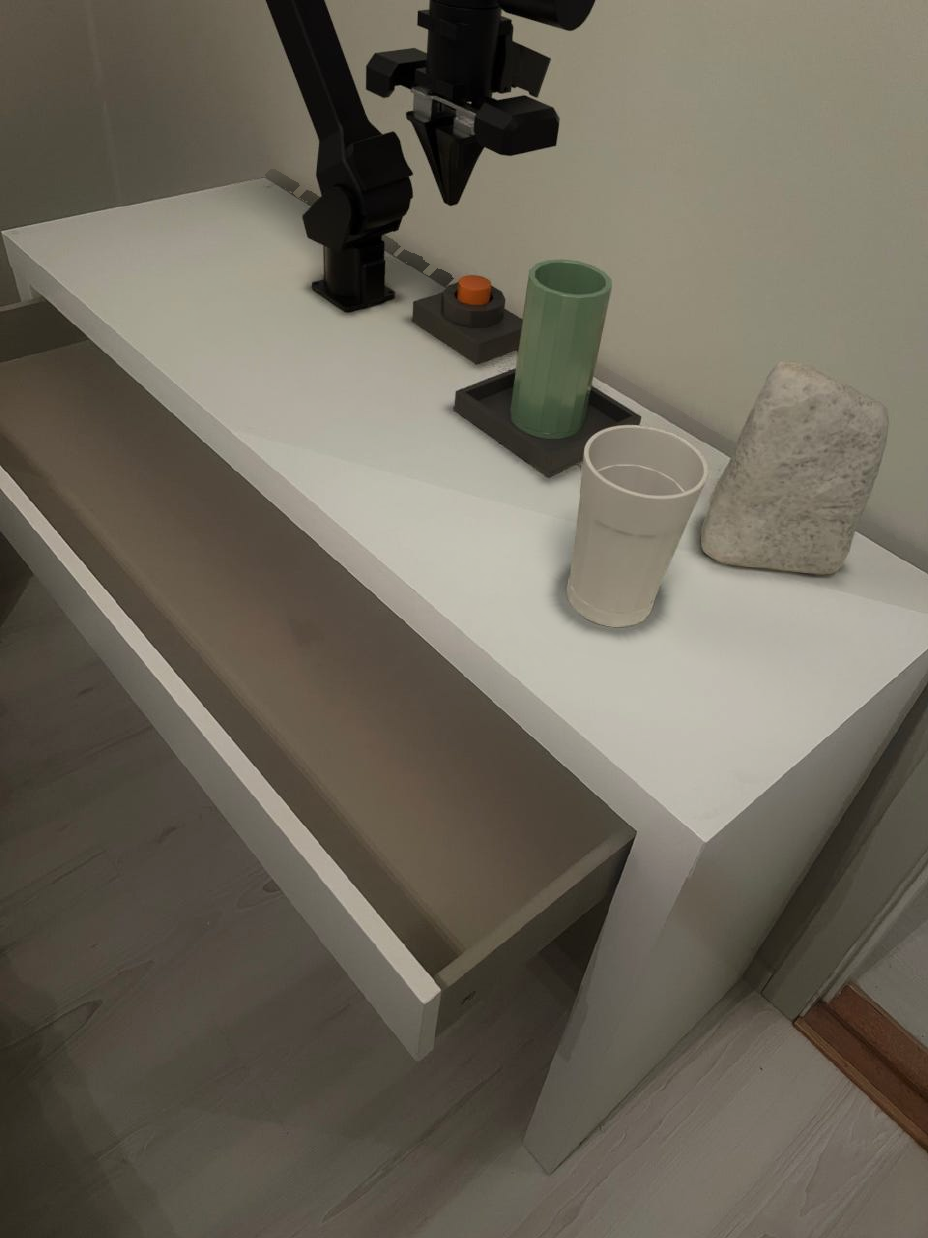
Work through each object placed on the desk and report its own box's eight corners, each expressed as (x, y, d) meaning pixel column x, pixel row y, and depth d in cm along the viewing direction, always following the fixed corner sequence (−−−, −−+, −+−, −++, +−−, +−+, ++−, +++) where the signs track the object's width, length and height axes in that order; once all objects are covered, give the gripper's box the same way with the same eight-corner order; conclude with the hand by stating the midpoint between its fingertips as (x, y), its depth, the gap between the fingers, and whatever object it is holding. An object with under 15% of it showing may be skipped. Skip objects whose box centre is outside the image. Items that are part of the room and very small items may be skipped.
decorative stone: (834, 542, 74) (913, 376, 64) (840, 591, 70) (926, 422, 60) (698, 516, 75) (755, 348, 65) (696, 563, 71) (757, 391, 61)
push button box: (412, 321, 94) (413, 283, 92) (463, 304, 98) (467, 267, 95) (476, 364, 89) (480, 325, 87) (529, 345, 93) (534, 307, 90)
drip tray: (453, 410, 83) (455, 390, 82) (542, 374, 89) (545, 356, 88) (548, 478, 77) (551, 458, 76) (637, 435, 83) (642, 416, 82)
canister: (497, 423, 82) (515, 281, 72) (527, 390, 86) (548, 252, 77) (566, 447, 80) (594, 305, 71) (593, 412, 84) (623, 273, 75)
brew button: (450, 296, 91) (451, 279, 90) (474, 288, 93) (476, 271, 92) (471, 309, 90) (473, 292, 88) (496, 301, 91) (498, 284, 90)
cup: (661, 645, 65) (707, 509, 56) (548, 622, 65) (577, 484, 57) (666, 571, 70) (709, 437, 62) (562, 550, 71) (590, 415, 62)
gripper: (622, 21, 72) (587, 223, 83) (465, -34, 81) (452, 155, 92) (518, 35, 66) (495, 250, 77) (362, -25, 76) (361, 174, 87)
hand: (451, 203), depth 84 cm, fingers closed
